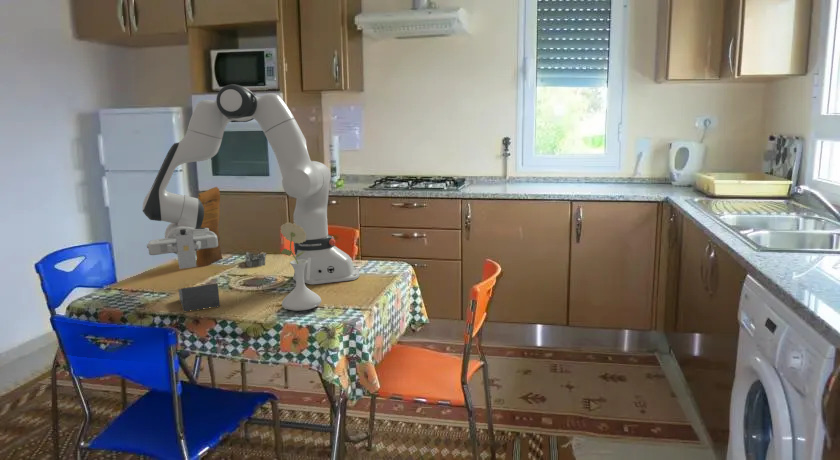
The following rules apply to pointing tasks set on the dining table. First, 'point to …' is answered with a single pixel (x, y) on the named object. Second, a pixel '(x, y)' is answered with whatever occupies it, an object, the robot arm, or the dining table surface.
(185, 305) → the block
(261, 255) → the grey building model
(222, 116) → the robot arm
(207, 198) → the pancake mix bag
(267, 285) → the dining table surface
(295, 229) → the flower in vase
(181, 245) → the block
